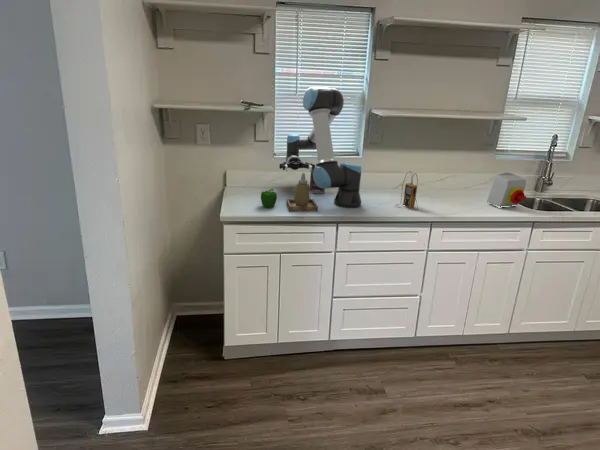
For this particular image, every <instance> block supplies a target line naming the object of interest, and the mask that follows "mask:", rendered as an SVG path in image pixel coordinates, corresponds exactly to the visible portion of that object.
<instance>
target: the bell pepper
mask: <svg viewBox="0 0 600 450" xmlns="http://www.w3.org/2000/svg"><path fill="white" fill-rule="evenodd" d="M274 190H275V189H274V187H273V188H270V189H268V190H265V191H261V193H260V201H261V205H262V206H263V207H264V208H266V209H270V208H274V207H275V205H276V204H277V203H276V202H277V200H278V199H277V198H278V195H277V193H276V191H274Z"/></svg>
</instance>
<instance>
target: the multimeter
mask: <svg viewBox="0 0 600 450" xmlns="http://www.w3.org/2000/svg"><path fill="white" fill-rule="evenodd" d="M408 173H411V174H412V177H411V179H410V182H409V183H405V186H404V182H405V181H406V180H405V179H406V178H407V174H408ZM408 173H406V174H405V176H404V179H403V182H402V186H401V189H404V192H403V193H404V194H401V196H400V198H401V199H400V200H402V198H403V201H400V204H401V203H402V206H403V205H405V206H407V207H409V208H413V209H415V205H416V204H418V203H417V200H416V199H417V198H416V196H417V191H418V178H416V179H417V180H416V181H417V182H416V185H415V184H414V179H413V177H414V176H415V177H418V175H417V174H413V172H412V171H411V170H410V171H408ZM403 186H404V188H403ZM405 206H404V207H405ZM407 207H406V208H407ZM416 207H417V208H416V209H417V211H418V210H419V209H418V208H419V207H418V205H416ZM409 208H408V209H409Z"/></svg>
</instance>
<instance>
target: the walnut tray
mask: <svg viewBox="0 0 600 450" xmlns="http://www.w3.org/2000/svg"><path fill="white" fill-rule="evenodd" d="M285 201H286V203H287V204H286V203H285V204H286V206H287V208H288V211H289V212H309V213H310V212H313V213H314V212H316V213H317V212H318V213H319V205H317V203H316V202H315V199H313V198H312V199H310V198H309V203H308V205H307V206H296V203H295V198H286V200H285Z"/></svg>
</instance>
